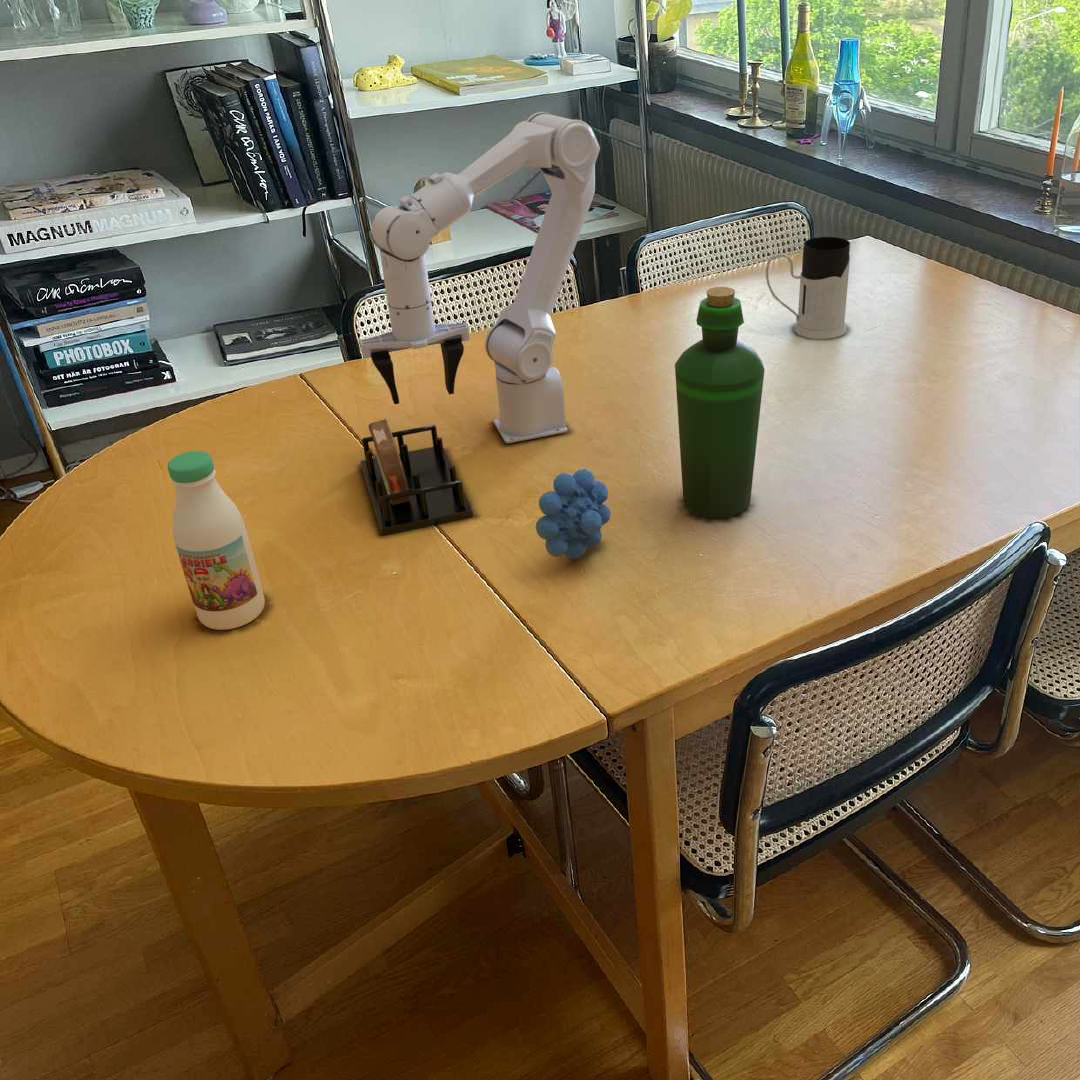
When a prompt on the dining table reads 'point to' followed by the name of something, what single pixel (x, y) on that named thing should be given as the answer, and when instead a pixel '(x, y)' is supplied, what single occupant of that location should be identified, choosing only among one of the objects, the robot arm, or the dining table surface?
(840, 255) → the glass holder
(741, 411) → the bottle
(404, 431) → the rack
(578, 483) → the grapes
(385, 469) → the tin
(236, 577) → the milk bottle
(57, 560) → the dining table surface
